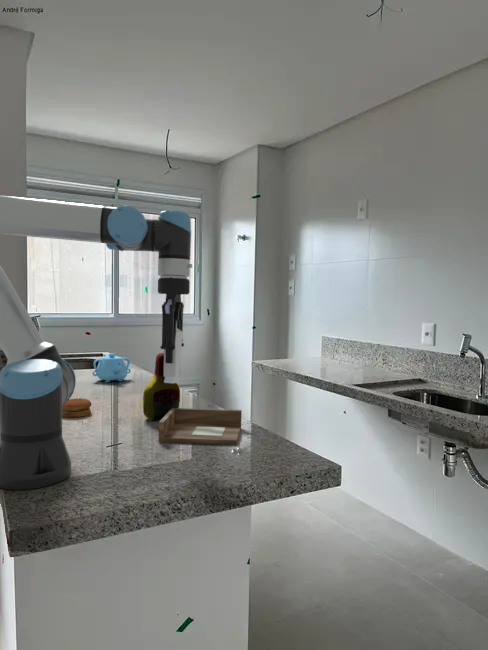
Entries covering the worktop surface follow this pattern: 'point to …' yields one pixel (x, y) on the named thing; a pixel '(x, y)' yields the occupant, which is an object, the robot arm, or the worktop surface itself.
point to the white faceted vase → (178, 352)
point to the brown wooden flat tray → (200, 426)
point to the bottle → (159, 393)
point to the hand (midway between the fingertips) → (172, 374)
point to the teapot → (111, 368)
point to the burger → (76, 408)
